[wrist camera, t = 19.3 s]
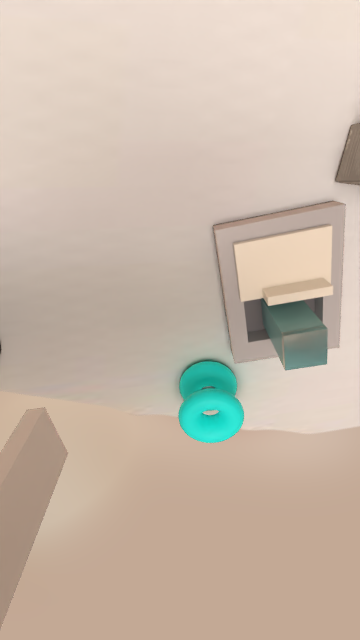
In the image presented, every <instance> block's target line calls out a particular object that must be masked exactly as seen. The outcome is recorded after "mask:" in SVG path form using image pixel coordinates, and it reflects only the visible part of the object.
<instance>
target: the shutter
mask: <svg viewBox="0 0 360 640" xmlns="http://www.w3.org/2000/svg"><path fill="white" fill-rule="evenodd" d="M233 247H234V256H235V264H236V272H237V280H238V288H239V296H240V301H241V302H244V301H250V300H255V299H261V298H264V300H265V301H266V303H267V305H268V306H271V305H277V304H283V303H289V302H294V301H300V300H306V299H312V298H318V297H323V296H329V295H333V285H331V261H332V225H330V224H328V225H323V226H317V227H312V228H307V229H302V230H297V231H292V232H287V233H282V234H277V235H272V236H267V237H262V238H257V239H251V240H246V241H241V242H236V243H233Z"/></svg>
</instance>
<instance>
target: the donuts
mask: <svg viewBox="0 0 360 640" xmlns="http://www.w3.org/2000/svg"><path fill="white" fill-rule="evenodd" d="M206 386H212V387H215V388H216V389H215V388H208V389H202V388H203V387H206ZM179 388H180V393H181V396H182V397H183V399H184V402H183V403H182V405H181V407H180V410H179V422H180V425H181V427H182V429H183V430H184V431H185V433H186V434H187V435H189V436H190V437H191V438H193V439H195V440H198V441H201V442H206V443H215V442H221V441H224V440H227V439H228V438H230V437H232V436H233V435H235V434H236V433H237V432H238V431H239V429H240V428H241V426H242V424H243V420H244V411H243V407H242V405H241V403H240V402H239V400H238V399H237V398H236V397H235V393H236V390H237V381H236V378H235V376H234V374H233V372H232V371H231V370H230V369H229V368H228V367H226V366H225V365H223V364H221V363H218V362H213V361H204V362H199V363H196V364H194V365H192V366H191V367H189V368H188V369H187V370H186V371H185V372H184V373H183V375H182V377H181V379H180V385H179ZM201 389H202V390H201ZM211 410H218V411H219V412H218V413H217V414H215V415H205V414H203V413H202V412H204V411H211Z"/></svg>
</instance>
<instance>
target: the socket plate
mask: <svg viewBox="0 0 360 640" xmlns="http://www.w3.org/2000/svg"><path fill="white" fill-rule="evenodd" d="M345 206H346V204H343V203H339V202H336V201H330V202H325V203H320V204H315V205H311V206H306V207H301V208H296V209H291V210H286V211H281V212H276V213H271V214H267V215H262V216H257V217H252V218H247V219H242V220H237V221H232V222H227V223H223V224H218V225H213V229H214V236H215V243H216V249H217V256H218V263H219V269H220V276H221V283H222V290H223V296H224V303H225V310H226V316H227V323H228V330H229V337H230V343H231V350H232V355H233V359H234V363H242V362H248V361H254V360H261V359H267V358H274V357H279V356H278V354H277V352H276V350H275V348H274V346H273V344H272V342H271V340H270V338H269V336H268V334H267V331H266V329H265V327H264V325H263V318H262V307H261V299H255V300H250V301H244V302H241V301H240V296H239V288H238V280H237V272H236V264H235V256H234V247H233V243H236V242H241V241H246V240H251V239H257V238H262V237H267V236H272V235H277V234H282V233H287V232H292V231H297V230H302V229H307V228H312V227H317V226H323V225H328V224H330V225H332V261H331V285H333V295H329V296H323V297H318V298H312V299H306V300H303V301H304V302H305V303H306V304H307V305H308V306H309V308H310V309H311V310H312V311H313V312H314V313H315V315H316V316H317V317H318V318H319V319H320V320H321V322H322V323H323V324H324V325H325V326H326V327H327V329H328V342H327V349H332V348H338V347H339V341H340V319H341V296H342V274H343V251H344V228H345Z"/></svg>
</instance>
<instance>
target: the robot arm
mask: <svg viewBox="0 0 360 640" xmlns="http://www.w3.org/2000/svg"><path fill="white" fill-rule="evenodd" d="M0 351H1V346H0ZM67 455H68V452H67V450H66V448H65V446H64V444H63V442H62V440H61V439H60V437H59V435H58V433H57V431H56V429H55V427H54V425H53V423H52V421H51V419H50V417H49V415H48V413H47V411H46V409H45V408H37V409H30V410H27V411H26V412H25V414H24V415H23V417H22V419H21V420H20V422H19V424H18V425H17V427H16V428H15V430H14V432H13V433H12V435H11V436H10V438H9V440H8V441H7V443H6V444H5V446H4V448H3V449H2V451H1V452H0V629H1V626H2V624H3V621H4V618H5V616H6V613H7V611H8V608H9V605H10V603H11V600H12V598H13V595H14V592H15V590H16V587H17V585H18V582H19V579H20V577H21V574H22V571H23V569H24V566H25V564H26V561H27V559H28V556H29V553H30V551H31V548H32V546H33V543H34V540H35V538H36V535H37V533H38V530H39V527H40V525H41V522H42V520H43V517H44V515H45V512H46V509H47V507H48V504H49V501H50V499H51V496H52V494H53V491H54V489H55V486H56V483H57V481H58V478H59V476H60V473H61V470H62V468H63V465H64V463H65V460H66V457H67Z"/></svg>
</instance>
